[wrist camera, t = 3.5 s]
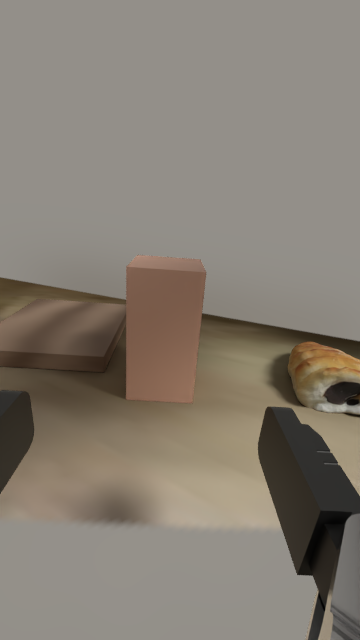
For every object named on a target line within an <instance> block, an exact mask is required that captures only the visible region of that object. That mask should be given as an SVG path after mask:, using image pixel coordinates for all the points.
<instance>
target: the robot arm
mask: <svg viewBox="0 0 360 640" xmlns="http://www.w3.org/2000/svg"><path fill="white" fill-rule="evenodd" d="M33 436H34V424H33V417H32V410H31V402H30V396H29V394H28V392H26V391H9V390H2V391H0V494H1V492H2V490H3V489H4V487H5V486H6V484H7V482H8V481H9V479H10V478H11V476H12V475H13V473H14V471H15V470H16V468H17V467H18V465H19V464H20V462H21V460H22V459H23V457H24V456H25V454H26V453H27V451H28V449H29V448H30V445H31V443H32V440H33ZM258 455H259V460H260V464H261V467H262V470H263V473H264V476H265V479H266V482H267V485H268V488H269V491H270V494H271V497H272V500H273V503H274V506H275V509H276V512H277V515H278V518H279V521H280V524H281V527H282V530H283V533H284V536H285V539H286V542H287V545H288V548H289V551H290V554H291V557H292V561H293V563H294V567H295V570H296V573H297V575H311V576H313V577H314V580H315V583H316V585H317V588H318V590H317V593H316V595H315V600H314V604H313V608H312V613H311V617H310V621H309V625H308V630H307V635H306V639H305V640H360V496H359V494H358V493H357V491H356V490H355V488H354V487H353V485H352V484H351V482H350V480H349V479H348V477H347V476H346V474H345V473H344V471H343V470H342V468H341V466H340V465H338V462H337V460H336V459H335V457H334V456H333V454H332V453H330V449H329V448H328V446H327V445H326V443H325V442H324V440H323V438H322V437H321V436H320V435H319V434H318V433H317V432H316V431H314V430H313V429H312V428H311V427H310V426H309V425H306V424H301V423H300V421H299V419H298V418H297V416H296V414H295V413H294V411H293V410H292V409H291V408H284V407H267V408H266V411H265V415H264V419H263V424H262V428H261V433H260V437H259V442H258Z"/></svg>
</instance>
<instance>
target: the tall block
mask: <svg viewBox="0 0 360 640" xmlns="http://www.w3.org/2000/svg"><path fill="white" fill-rule="evenodd" d="M126 268H127V269H126V273H127V275H126V280H127V281H126V282H127V283H126V284H127V285H126V290H127V291H126V295H127V296H126V400H142V401H160V402H178V403H193V393H194V384H195V374H196V365H197V356H198V346H199V337H200V327H201V318H202V308H203V299H204V289H205V279H206V271H205V268H204V266H203V264H202V262H201V260H199V259H186V258H172V257H158V256H144V255H137V256H136V257H135V258H134V259H133V260H132V261H131V262H130V264H129V265H128V266H127V267H126Z"/></svg>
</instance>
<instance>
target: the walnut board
mask: <svg viewBox="0 0 360 640" xmlns="http://www.w3.org/2000/svg"><path fill="white" fill-rule="evenodd" d="M125 326H126V305H122V304H107V303H92V302H77V301H61V300H46V299H36V300H35V301H33V302H32V303H30V304H28V305H27V306H25V307H24V308H22V309H20V310H19V311H17V312H16V313H14V314H12V315H11V316H9V317H8V318H6V319H4V320H3V321H1V322H0V366H6V367H23V368H40V369H58V370H75V371H92V372H104V371H105V369H106V367H107V365H108V363H109V361H110V358H111V356H112V354H113V352H114V350H115V348H116V345H117V343H118V341H119V339H120V337H121V334H122V332H123V330H124V328H125Z"/></svg>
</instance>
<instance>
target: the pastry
mask: <svg viewBox="0 0 360 640" xmlns="http://www.w3.org/2000/svg"><path fill="white" fill-rule="evenodd" d="M288 371H289V375H290V376H291V380H292V383H293V389H294V392H295V394H296V396H297V398H298V400H299V402H300V403H302V404H303V405H304V406H306V407H308V408H313V409H315V410H317V411H322V412H327V413H350V414H357V415H360V360H359V359H357V358H354V357H352V356H350V355H348V354H346V353H344V352H342V351H340V350H338V349H334V348H332V347H329V346H323V345H320V344H318V343H314V342H304V343H301V344H299V345H297V346H295V347H294V348H293V349H292V352H291V355H290V357H289V364H288Z"/></svg>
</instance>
